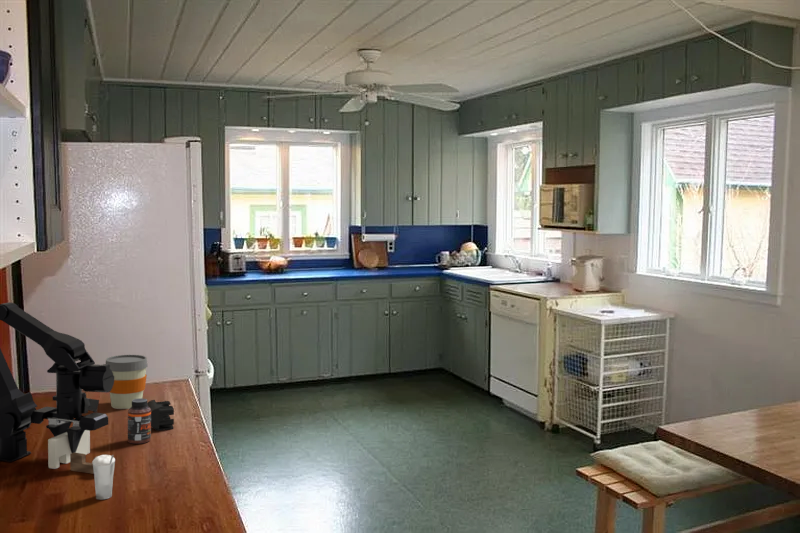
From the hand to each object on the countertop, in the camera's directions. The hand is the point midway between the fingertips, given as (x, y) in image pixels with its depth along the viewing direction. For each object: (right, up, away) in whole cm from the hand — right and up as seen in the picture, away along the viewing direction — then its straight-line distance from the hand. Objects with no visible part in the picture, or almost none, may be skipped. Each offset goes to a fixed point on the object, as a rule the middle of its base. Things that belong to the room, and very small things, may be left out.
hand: (69, 452), depth 176 cm
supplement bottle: (+12, -1, +16) cm, 19 cm away
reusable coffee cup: (-5, +2, +49) cm, 49 cm away
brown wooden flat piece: (+8, -3, -7) cm, 11 cm away
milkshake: (+18, -4, -21) cm, 28 cm away
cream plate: (0, -2, 0) cm, 2 cm away
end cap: (+12, 0, +29) cm, 31 cm away
